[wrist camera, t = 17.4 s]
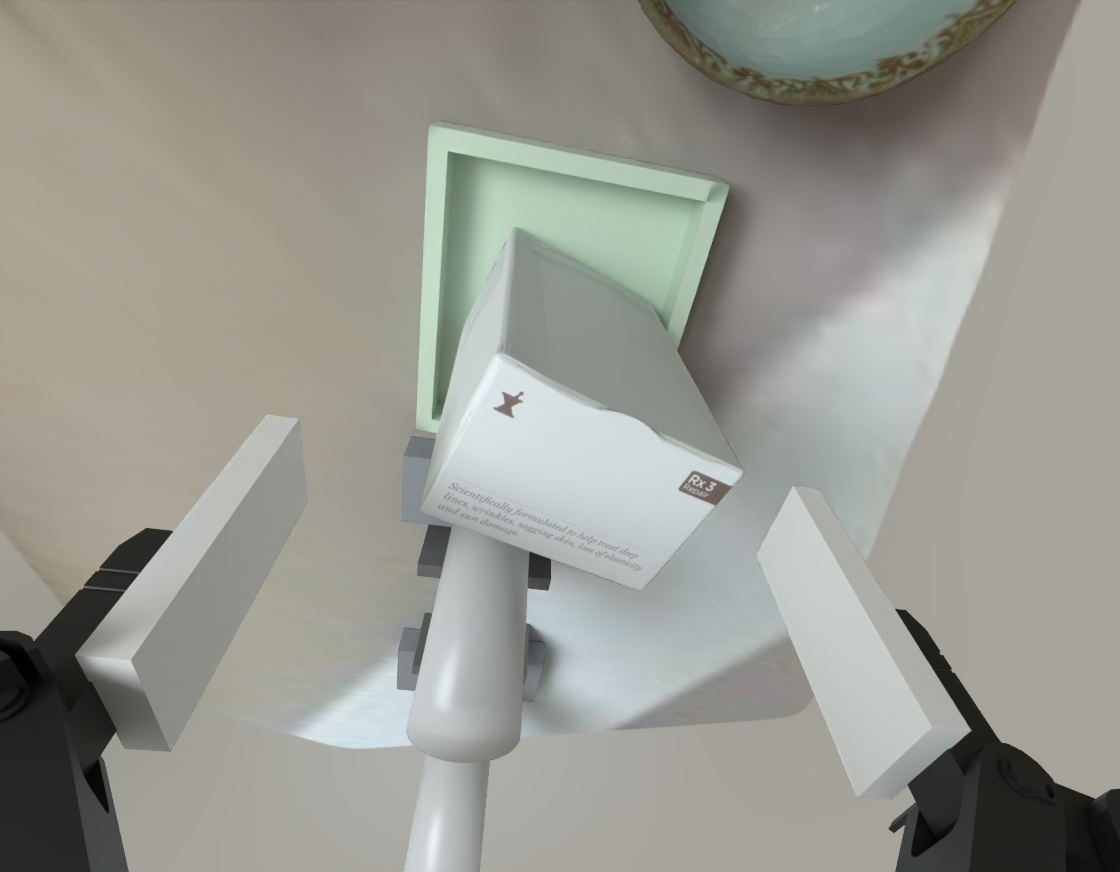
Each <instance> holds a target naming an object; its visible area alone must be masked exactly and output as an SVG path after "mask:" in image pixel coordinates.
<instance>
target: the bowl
mask: <svg viewBox="0 0 1120 872" xmlns="http://www.w3.org/2000/svg"><path fill="white" fill-rule="evenodd" d="M638 1H639V3H640V5H641V7H642V9H643V11H644V13H645V14H646V16H647V17H648V19H649V20H650V21H651V23H652V24H653V26H654V27H655V28H656V30H657V31H658V33H659V34H660V35H661V37H662V38H663V39H664V40H665V41H666V42H667V43H668V44H669V45H670V46H671V47H672V48H673V49H674V50H675V51H676V52H678V53H679V54H680V55H681V56H682V57H683V58H684V59H685V60H686V61H687V62H688V63H689V64H690V65H692V66H693V67H695V68H696V69H697V70H699V71H700V72H702V73H703V74H704V75H706V76H707V77H709V78H710V79H711V80H713V81H715V82H717V83H719V84H722V85H724V86H726V87H728V88H731V89H733V90H735V91H738V92H740V93H743V94H745V95H747V96H750V97H752V98H755V99H760V100H764V101H769V102H773V103H777V104H782V105H817V106H823V105H837V104H842V103H846V102H851V101H856V100H861V99H864V98H868V97H871V96H875V95H878V94H880V93H883V92H885V91H888V90H891V89H893V88H896V87H898V86H901V85H903V84H906V83H908V82H909V81H911V80H913V79H915V78H916V77H918V76H920V75H922V74H923V73H925V72H927V71H928V70H930V69H932V68H934V67H935V66H937V65H939V64H941V63H942V62H944V61H945V60H947V59H948V58H950V57H951V56H952V55H954V54H955V53H957V52H958V51H959V50H961V49H962V48H963V47H965V46H966V45H968V44H969V43H970V42H972V41H973V40H975V39H976V38H977V37H978V36H979V35H981V34H982V33H983V32H984V31H985V30H987V29H988V28H989V27H990V26H991V25H993V24H994V23H995V22H996V21H997V20H998V19H999V18H1000V17H1001V16H1002V15H1003V14H1004V13H1005V12H1006V11H1007V10H1008V9H1009V8H1010V7H1011V6H1012V5H1013V4H1014V3H1015V2H1016V1H1017V0H638Z"/></svg>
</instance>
